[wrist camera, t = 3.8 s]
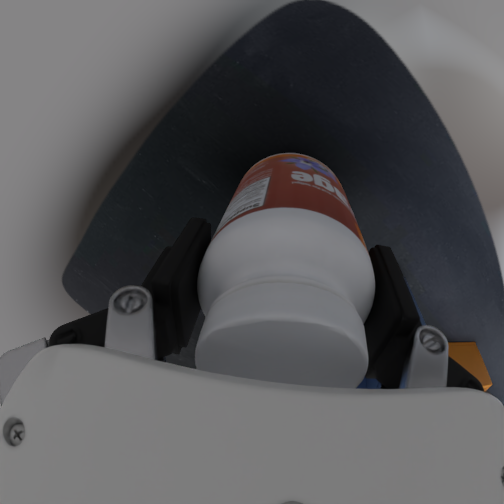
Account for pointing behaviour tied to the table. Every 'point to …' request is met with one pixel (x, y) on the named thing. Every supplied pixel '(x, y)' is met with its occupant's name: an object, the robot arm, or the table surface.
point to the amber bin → (470, 361)
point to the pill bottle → (287, 280)
